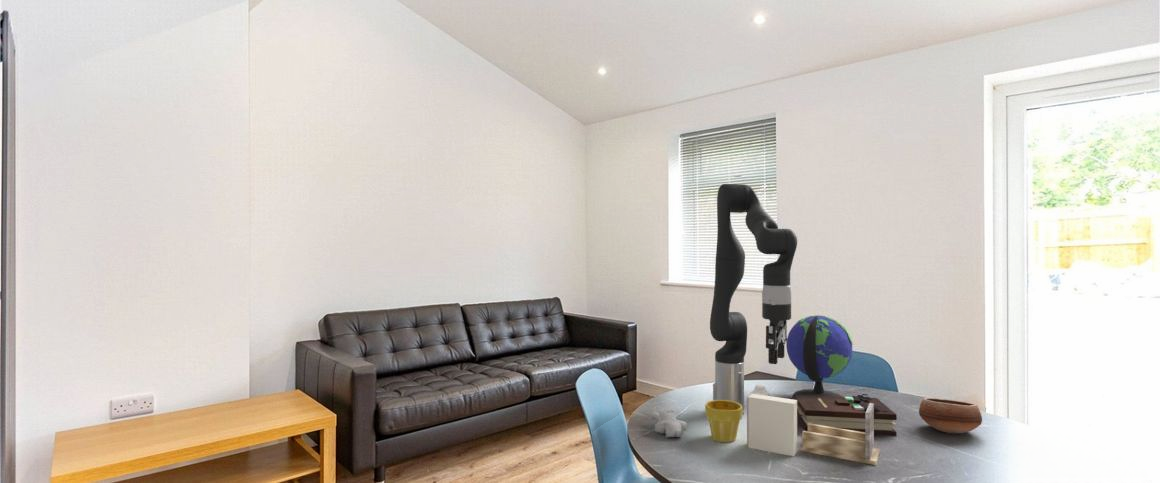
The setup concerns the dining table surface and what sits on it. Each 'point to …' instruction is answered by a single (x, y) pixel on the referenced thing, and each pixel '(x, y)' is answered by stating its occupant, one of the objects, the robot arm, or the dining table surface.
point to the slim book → (772, 424)
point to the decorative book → (844, 413)
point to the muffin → (760, 390)
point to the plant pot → (723, 419)
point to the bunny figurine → (669, 424)
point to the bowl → (950, 415)
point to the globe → (819, 350)
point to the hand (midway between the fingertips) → (776, 360)
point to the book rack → (843, 441)
